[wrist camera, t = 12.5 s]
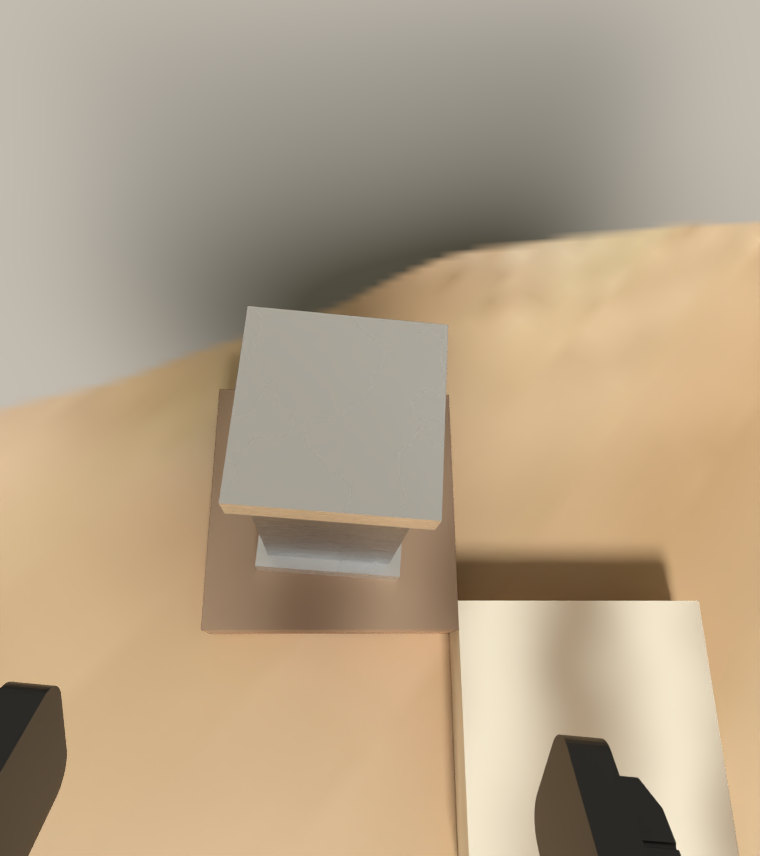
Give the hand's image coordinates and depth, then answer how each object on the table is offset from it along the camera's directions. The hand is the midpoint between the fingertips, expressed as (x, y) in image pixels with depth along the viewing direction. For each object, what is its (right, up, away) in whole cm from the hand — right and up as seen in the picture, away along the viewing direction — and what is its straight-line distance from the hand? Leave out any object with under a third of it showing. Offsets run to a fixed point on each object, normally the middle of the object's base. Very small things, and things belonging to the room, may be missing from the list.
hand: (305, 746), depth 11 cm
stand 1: (-1, +2, +16) cm, 17 cm away
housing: (-1, +2, +14) cm, 15 cm away
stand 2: (+8, -6, +14) cm, 18 cm away
